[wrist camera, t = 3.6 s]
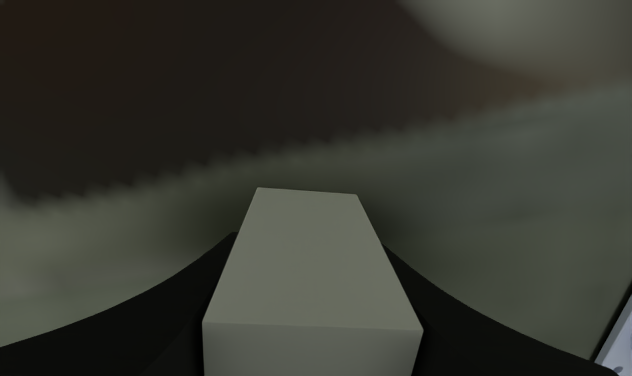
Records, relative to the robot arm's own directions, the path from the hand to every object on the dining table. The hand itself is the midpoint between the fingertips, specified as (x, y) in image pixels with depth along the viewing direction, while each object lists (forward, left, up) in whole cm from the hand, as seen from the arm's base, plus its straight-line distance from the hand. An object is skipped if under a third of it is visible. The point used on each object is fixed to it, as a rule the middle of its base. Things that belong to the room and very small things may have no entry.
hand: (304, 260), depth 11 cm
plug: (0, 0, -2) cm, 2 cm away
